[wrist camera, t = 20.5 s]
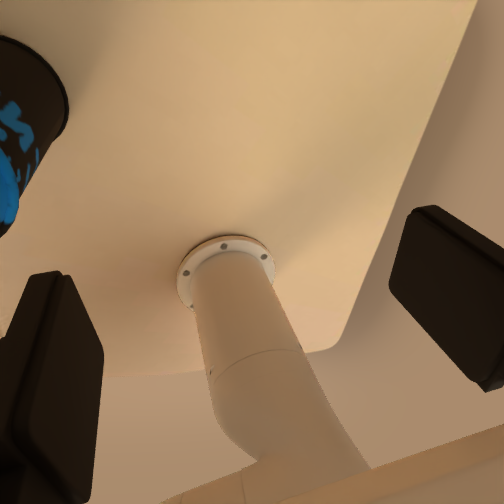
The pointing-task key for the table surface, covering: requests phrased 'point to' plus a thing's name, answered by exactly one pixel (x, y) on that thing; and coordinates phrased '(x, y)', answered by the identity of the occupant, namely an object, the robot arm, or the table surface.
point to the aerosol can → (25, 120)
